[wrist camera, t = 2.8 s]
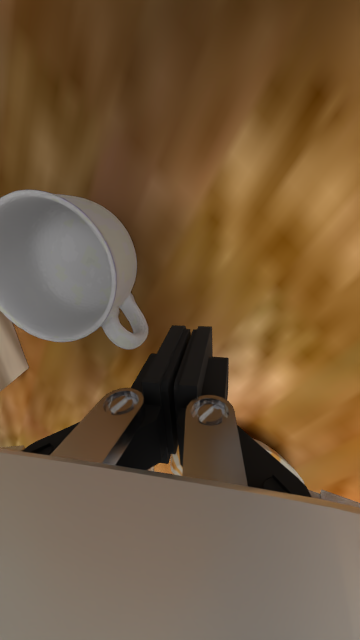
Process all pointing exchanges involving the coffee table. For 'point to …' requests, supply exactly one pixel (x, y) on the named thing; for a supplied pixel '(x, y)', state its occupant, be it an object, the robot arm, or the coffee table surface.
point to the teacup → (67, 269)
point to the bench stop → (10, 353)
